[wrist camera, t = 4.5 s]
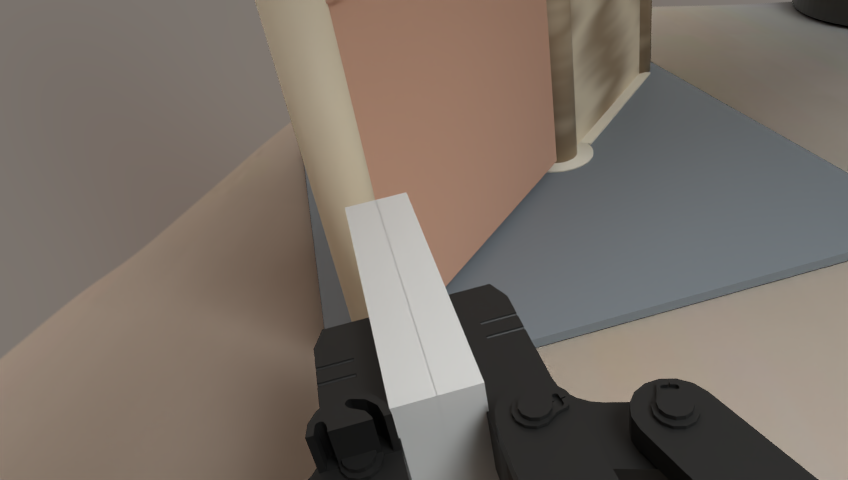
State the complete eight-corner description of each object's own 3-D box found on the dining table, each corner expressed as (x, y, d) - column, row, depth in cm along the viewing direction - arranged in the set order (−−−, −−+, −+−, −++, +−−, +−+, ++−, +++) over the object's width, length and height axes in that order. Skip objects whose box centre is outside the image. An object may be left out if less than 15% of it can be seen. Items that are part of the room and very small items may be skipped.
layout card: (647, 66, 43) (648, 58, 42) (938, 235, 24) (942, 223, 24) (303, 150, 41) (301, 143, 40) (335, 403, 22) (332, 393, 22)
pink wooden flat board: (528, 157, 33) (503, -124, 26) (562, 161, 32) (544, -129, 25) (348, 347, 23) (233, -20, 16) (388, 361, 22) (284, -22, 16)
